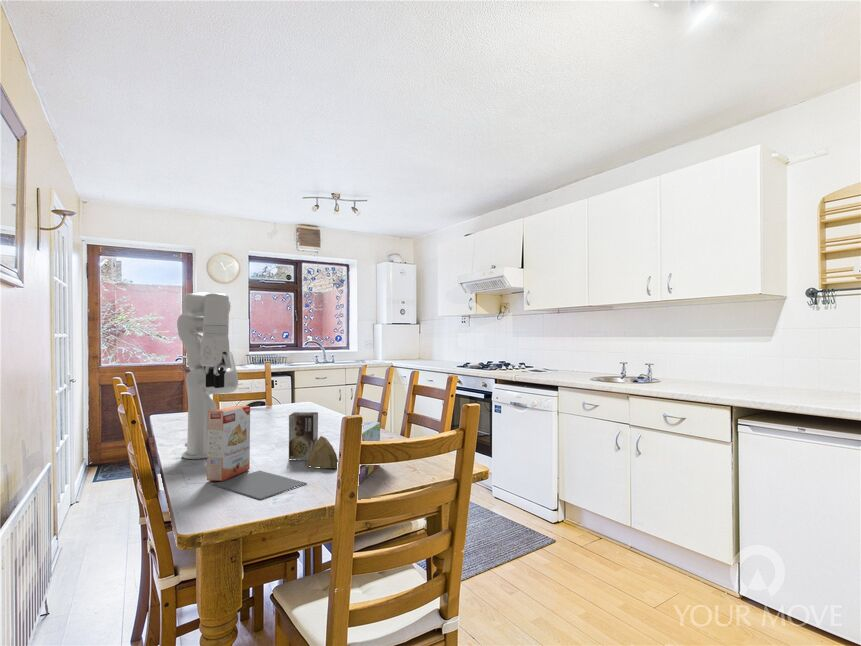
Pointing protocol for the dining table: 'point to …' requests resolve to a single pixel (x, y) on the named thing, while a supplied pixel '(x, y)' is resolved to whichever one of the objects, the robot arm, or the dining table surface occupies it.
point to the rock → (322, 455)
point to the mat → (259, 484)
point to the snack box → (369, 434)
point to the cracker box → (228, 442)
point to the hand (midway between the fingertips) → (214, 386)
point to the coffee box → (302, 434)
